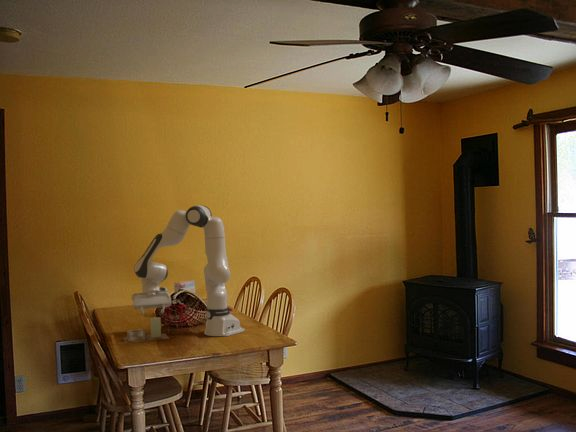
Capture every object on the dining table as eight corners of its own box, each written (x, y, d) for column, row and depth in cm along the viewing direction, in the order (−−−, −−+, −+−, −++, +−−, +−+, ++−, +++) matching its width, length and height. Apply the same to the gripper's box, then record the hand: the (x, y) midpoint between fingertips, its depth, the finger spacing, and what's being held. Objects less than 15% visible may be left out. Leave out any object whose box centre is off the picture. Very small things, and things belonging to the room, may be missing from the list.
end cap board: (165, 336, 292) (165, 325, 292) (169, 341, 281) (169, 330, 280) (123, 340, 283) (122, 329, 283) (125, 345, 272) (125, 335, 272)
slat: (160, 336, 286) (160, 317, 285) (160, 336, 284) (160, 318, 284) (150, 337, 284) (150, 318, 284) (151, 337, 282) (150, 318, 282)
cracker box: (188, 311, 357) (188, 279, 356) (195, 312, 354) (195, 280, 353) (174, 315, 345) (173, 282, 344) (181, 316, 342) (180, 283, 341)
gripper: (131, 290, 292) (133, 311, 283) (169, 288, 300) (173, 308, 291) (130, 297, 296) (133, 318, 287) (168, 294, 304) (171, 315, 295)
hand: (153, 313), depth 289 cm, fingers open, 8 cm apart
